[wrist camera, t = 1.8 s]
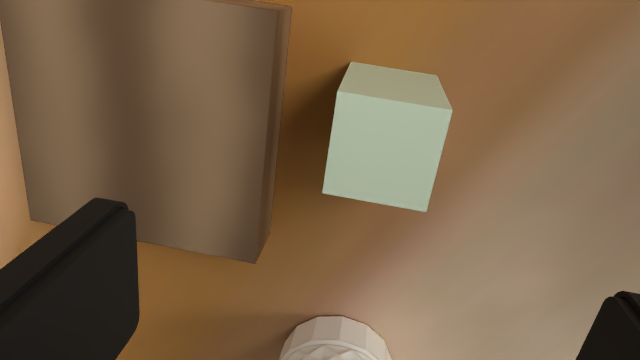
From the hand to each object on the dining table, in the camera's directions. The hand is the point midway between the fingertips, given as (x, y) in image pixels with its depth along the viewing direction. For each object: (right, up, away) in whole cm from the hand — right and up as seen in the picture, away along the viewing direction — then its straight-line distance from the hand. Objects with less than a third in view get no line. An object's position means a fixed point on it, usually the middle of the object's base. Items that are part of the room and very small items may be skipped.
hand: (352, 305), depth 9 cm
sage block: (+2, +6, +13) cm, 14 cm away
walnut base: (-9, +6, +15) cm, 18 cm away
